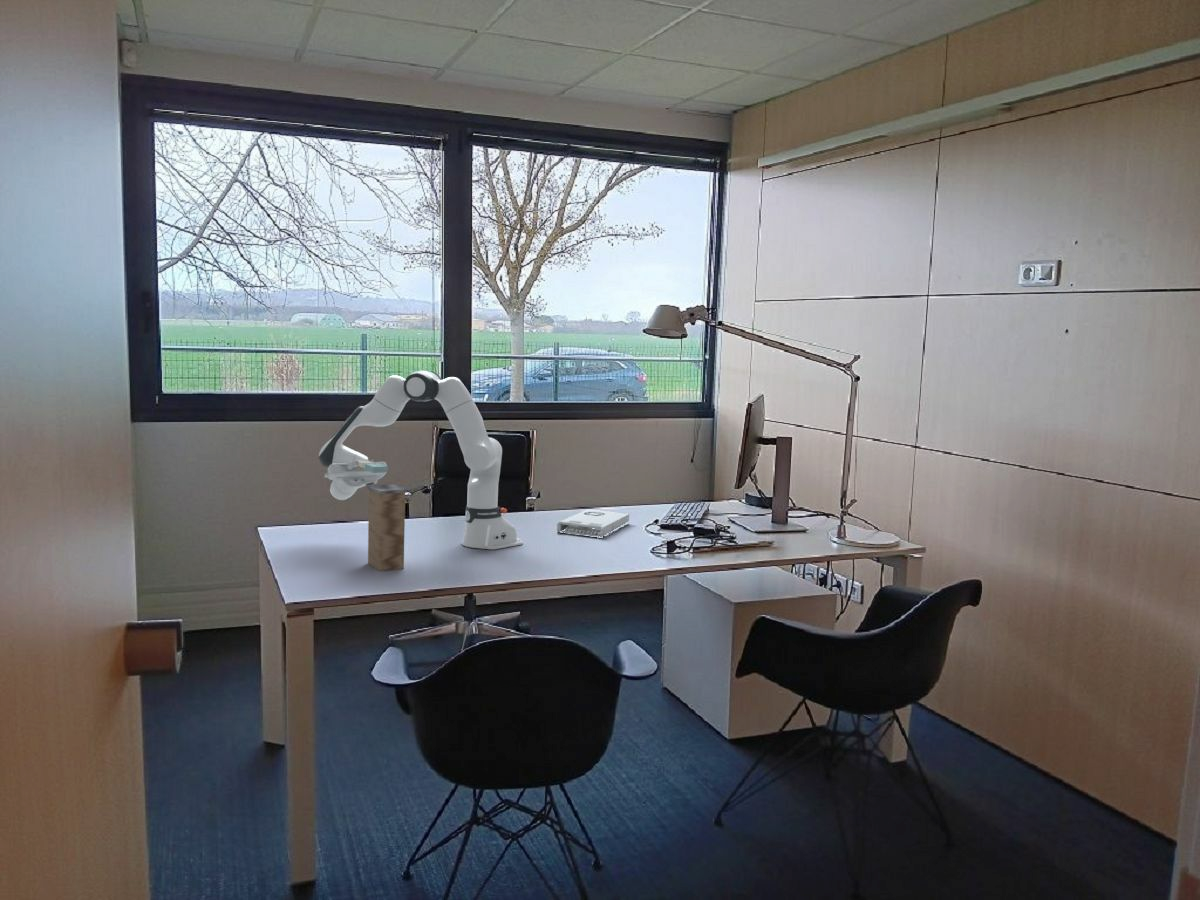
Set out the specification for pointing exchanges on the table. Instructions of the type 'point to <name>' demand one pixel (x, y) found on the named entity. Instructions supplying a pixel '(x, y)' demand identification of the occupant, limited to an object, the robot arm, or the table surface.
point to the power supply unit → (592, 522)
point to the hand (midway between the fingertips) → (364, 462)
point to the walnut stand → (386, 526)
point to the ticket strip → (372, 466)
